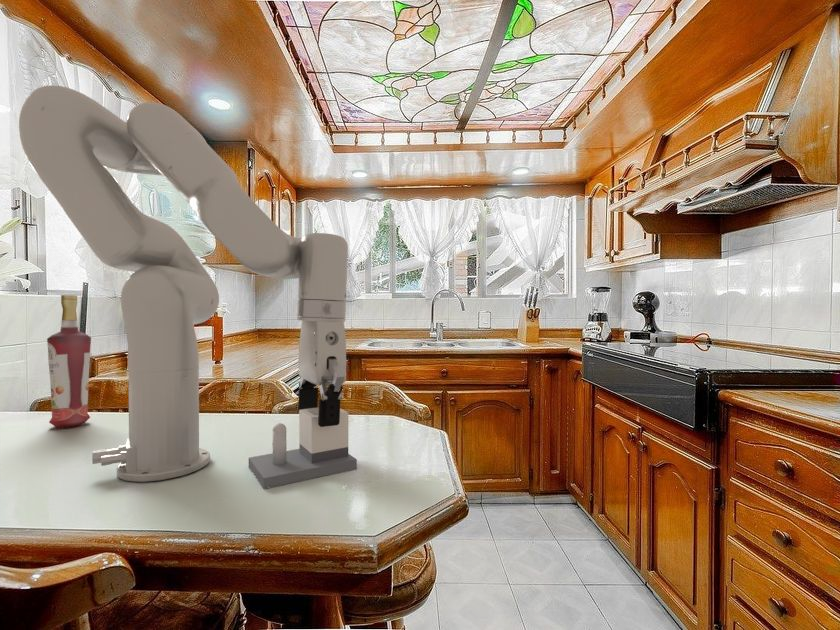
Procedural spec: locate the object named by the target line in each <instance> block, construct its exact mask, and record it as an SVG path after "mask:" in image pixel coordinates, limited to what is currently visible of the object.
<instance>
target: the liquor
mask: <svg viewBox="0 0 840 630" xmlns="http://www.w3.org/2000/svg"><path fill="white" fill-rule="evenodd" d="M60 299H61V300H60V303H61V307H62V308H61V309H62V315H61V320H60V321H61V323H60V324H61V325H60V331H58V332H56V333H54V334H51V335H50V336H49V337H47V338H46V342H47V344H46V345H47V356H48V357H47V358H48V359H47V360H48V370H49V372H48V374H49V380H50V382H49V383H50V384H49V385H50V398H51V400H50V401H51V402H50V403H51V419H50V420H49V421H48V422H49V424H50V425H52V426H53V427H55V428H57V429H69V428H70V429H71V428H76V427H81V426H82V425H84V424H85V423H87V421H88V420H89V419H90V418H91V416H90V415H89V413H88V411H89V408H88V406H89V405H88V404H89V381H90V379H89V378H90V365H91V347H92V346H91V344H92V343H91V342H92V337H91V336H90V335H88V334H86V333H85V332H81V331H79V325H78V318H77V307H78V306H77V305H78V295H74V294H73V295H69V294H68V295H67V294H66V295H65V294H64V295H63V294H61V296H60Z"/></svg>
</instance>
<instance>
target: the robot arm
mask: <svg viewBox="0 0 840 630" xmlns="http://www.w3.org/2000/svg"><path fill="white" fill-rule="evenodd" d="M18 135H19V141H20V144H21V148H22V150H23V153H24V155H25V157H26V159H27V161H28V163H29V164H30V166H31V167H32V169H33V171H34V173H36V176H38V177H39V179H40V180H41V181H42V182H43V184H44V186H45V187H46V188H47V189H48V191H49V192H50V194H51V195H52V196H53V197H54V198H55V200H56V201H57V203H58V204H59V206H60V207H61V208H62V209H63V211H64V214H66V215H67V217H68V219H69V220H70V221H71V222H72V224H73V225H74V227H75V229H77V231H78V232H79V233H80V235H81V237H82V238H83V239H84V240H85V242H86V244H87V245H88V246H89V248H90V249H91V251H92V252H93V253H94V254H95V256H96V257H97V258H98V259H99V260H100V261H101V263H103V264H105V265H106V266H109V267H111V268H114V269H117V270H122V271H128V272H132V274H130V275H129V277H128V278H127V279H126V280H125V282H124V283H123V286H122V288H121V289H122V290H121V292H120V306H121V307H120V308H121V314H122V318H123V322H124V323H123V324H124V327H125V332H126V334H125V335H126V341H127V359H128V360H127V361H128V363H127V364H128V365H127V366H128V438H127V439H126V444H119V445H118V447H117V448H109V449H108V448H104V449H97V450H93V451H92V453H91V455H92V456H91V457H92V459H91V463H92V465H96V464H100V465H101V466H108V465H113V464H118V466H117V467H116V476H117V478H119V479H121V480H123V481H127V482H137V483H138V482H139V483H141V482H142V483H144V482H154V481H156V482H157V481H163V480H169V479H174V478H178V477H182V476H185V475H189V474H193V473H195V472H196V471H199V470H201V469H203V468H204V467H205V466H207V465H208V464H209V463H210V461H211V454H210V452H209V450H207V449H204V448H200V399H199V398H200V386H199V385H200V379H199V377H200V372H199V371H200V367H199V366H200V365H199V364H200V363H199V361H200V360H199V359H200V358H199V355H200V354H199V344H198V340H197V339H198V338H197V333H196V330H195V326H194V325H199V324H202V323H205V322H206V321H208V320H210V319H211V318H212V317H213V316H214V315H215V314H216V312H217V310H218V308H219V303H220V295H219V291H218V288H217V285H216V283H215V282H214V280H213V279H212V277H211V276H210V274H209V273H208V272H207V270H206V269H205V267H204V266H203V265H202V262H200V260H199V259H198V257H197V256H196V255H195V253H194V252H193V250H192V249H191V247H190V246H189V245H188V243H187V242H186V241H185V240H184V239H183V237H182V236H181V234H179V233H178V232H177V231H176V230H175V229H174V227H173V228H172V227H171V226H170V225H168V224H166V223H165V222H163V221H160V220H159V219H156V218H153V217H151V216H149V215H147V214H145V213H143V212H142V211H141V210H139V209H138V207H137V206H136V205H135V203H134V202H132V200H131V199H130V197H129V196H128V194H126V191H124V189H123V188H122V186H121V185H120V183H119V182H118V181H117V179H116V178H115V177H114V175H112V174H111V172H109V170H107V169H110V170H113V171H117V172H122V173H123V172H124V173H131V174H143V175H150V176H152V175H153V176H161V177H163V178H165V180H167V182H168V183H169V184H170V185H171V186H172V187H173V188H174V189H175V190H176V192H178V193H179V194H180V195H181V196H182V198H183V199H185V201H186V202H187V203H188V204H189V205H190V207H192V210H193V212H194V213H195V214H196V216H198V218H199V220H200V221H201V222H202V224H203V225H204V226H205V227H206V228H207V230H208V231H209V233H211V234H212V235H213V236H214V237H215V239H216V240H217V241H218V242H219V243H220V244H221V245H222V246H223V247H224V248H225V249H226V250H227V251H228V253H230V254H231V256H232V257H234V258H235V259H236V261H238V262H239V263H240V264H241V265H242V266H243V267H244V268H246V269H247V270H249V271H250V272H252V273H254V274H256V275H259V276H262V277H267V278H269V279H273V280H278V281H279V280H284V281H285V280H292V279H295V280H296V279H298V289H297V290H298V291H297V292H298V293H297V314H296V315H297V316H296V317H297V318H296V320H297V321H301V325H300V327H301V328H300V335H299V342H298V343H299V345H298V346H299V347H298V362H297V364H298V365H297V366H298V367H297V369H298V376H299V382H298V400H297V401H298V403H297V404H298V407H297V408H298V409H297V411H298V412H299V410H302V409H310V408H318V407H319V414H318V425H319V426H320V427H326V426H334V425H338V424H339V422H340V409H341V400H342V395H343V394H342V392H343V389H344V387H343V385H344V384H345V383H346V381H347V342H346V341H347V340H346V339H347V337H346V329H345V322H346V309H347V307H346V305H347V285H348V284H347V281H348V258H349V257H348V256H349V255H348V254H349V251H348V250H349V246H348V245H349V244H348V242H347V240H346V238H345V237H343V236H341V235H337V234H332V233H326V232H325V233H324V232H323V233H321V232H312V233H307V234H305V235H303V236H302V237H297V236H293V235H291V234H288V233H287V232H285V231H284V230H282V229H281V228H280V227H279V226H278V225H277V224H276V223H275V222H274V221H273V220H272V219H271V218H270V217H269V216H268V215H267V214H266V213H265V212H264V211H263V210H262V209H261V208H260V206H258V205H257V204H256V203H255V201H254V200H253V199H252V198H251V197H250V196H249V195H248V194H247V192H246V191H245V190H244V189H243V188H242V187H241V185H240V184H239V180H238V176H237V174H236V173H235V171H234V170H233V168H231V167H230V166H229V165H228V164H227V162H225V161H224V159H222V157H221V156H220V155H218V153H217V152H216V151H215V150H214V149H213V148H212V147H211V146H210V144H208V143H207V141H206V139H205V138H204V137H203V135H202V134H201V133H200V132H199V131H198V130H197V128H195V127H194V126H193V125H191V124H190V123H189V122H188V121H187V119H185V117H183V115H181V114H180V113H179V112H178V111H176V110H175V109H173V108H171V107H169V106H168V105H165V104H163V103H159V102H153V101H148V102H142V103H139V104H138V105H136V106H133V108H132V109H131V110H130V112H129V113H128V114H127V119H126V121H125V120H123V119H122V118H120V117H119V116H118V115H116V114H115V113H113V112H112V111H111V110H110V109H108V108H106V107H104V106H103V105H102V104H100V103H99V102H97V101H96V100H95V99H93V98H92V97H89V96H88V95H87V94H84V93H82V92H81V91H80V92H79V91H77V90H75V89H73V88H69V87H68V86H67V87H66V86H62V85H49V84H48V85H44V86H40V87H38V88H36V89H34V90H32V92H30V93H29V94H28V96H27V97H26V98H25V101H24V102H23V104H22V107H21V110H20V113H19V118H18ZM317 386H318V387H317ZM319 393H320V396H321V399H319Z"/></svg>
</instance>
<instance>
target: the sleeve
mask: <svg viewBox="0 0 840 630" xmlns="http://www.w3.org/2000/svg"><path fill="white" fill-rule="evenodd" d="M298 412H299V415H298V417H299V420H298V422H299V433H298V434H299V436H298V437H299V442H298V444H299V448H298V449H299V453H300V454H302V455H303V456H304V457H305V458H306V459H307V460H308V461H309V462H310V463H317V462H322V461H327V460H332V459H337V458H342V457H347V456H348V454H349V411H346V410H344V409H342V408H340V422H339V424H338V425H334V426H326V427H320V426H319V425H318V414H319V406H318V408H310V409H302V410H299V411H298Z"/></svg>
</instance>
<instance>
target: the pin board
mask: <svg viewBox="0 0 840 630" xmlns="http://www.w3.org/2000/svg"><path fill="white" fill-rule="evenodd" d="M357 461H358V459H357V458H356V457H354V456H353V455H351V454H350V453H348V456H347V457H342V458H337V459H332V460H327V461H322V462H317V463H310V462H309V461H308V460H307V459H306V458H305V457H304V456H303V455H302V454H300V453H299V448H295V449H290V450H287V427H286V425H285V423H281V422H280V423H279V422H278V423H276V424H274V426H273V427H272V453H269V454H267V453H266V454H263V455H256V456H251V457H248V469H249V470H250V469H251V470H250V472H251V473H252V472H253V473H254V474H253V473H252V474H253V476H254V475H255V476H256V477H255V476H254V477H255V478H257V479H258V480H257V479H256V480H257V481H258V483H259V482H260V483H259V485H260V486H261V485H262V486H261V487H262V488H266V489H269V488H268V487H271V488H275V487H274V486H276V487H279V486H278V485H280V486H284V484H285V485H289V484H293V483H298V482H302V481H307V480H311V479H312V480H313V479H316V478H321V477H325V476H331V475H334V474H339V473H344V472H349V471H353V470H357V469H358V468H357V467H358V462H357Z"/></svg>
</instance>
